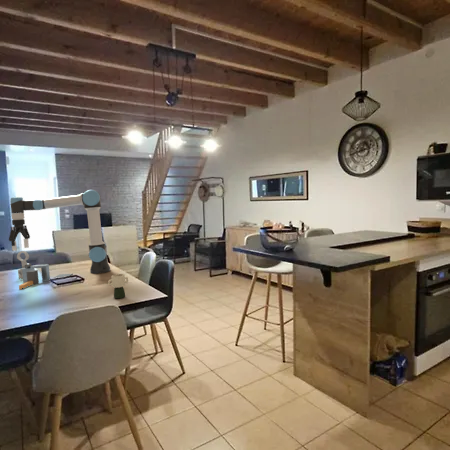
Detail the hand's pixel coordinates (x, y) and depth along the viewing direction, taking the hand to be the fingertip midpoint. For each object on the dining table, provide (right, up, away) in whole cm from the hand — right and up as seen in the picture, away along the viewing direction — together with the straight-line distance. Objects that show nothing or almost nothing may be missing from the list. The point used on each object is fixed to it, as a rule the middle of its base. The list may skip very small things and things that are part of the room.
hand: (20, 249), depth 229 cm
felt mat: (+21, -22, +17) cm, 35 cm away
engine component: (-11, -24, +23) cm, 35 cm away
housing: (+6, -24, +7) cm, 26 cm away
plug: (+10, -25, -7) cm, 27 cm away
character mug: (+85, -24, -46) cm, 100 cm away
